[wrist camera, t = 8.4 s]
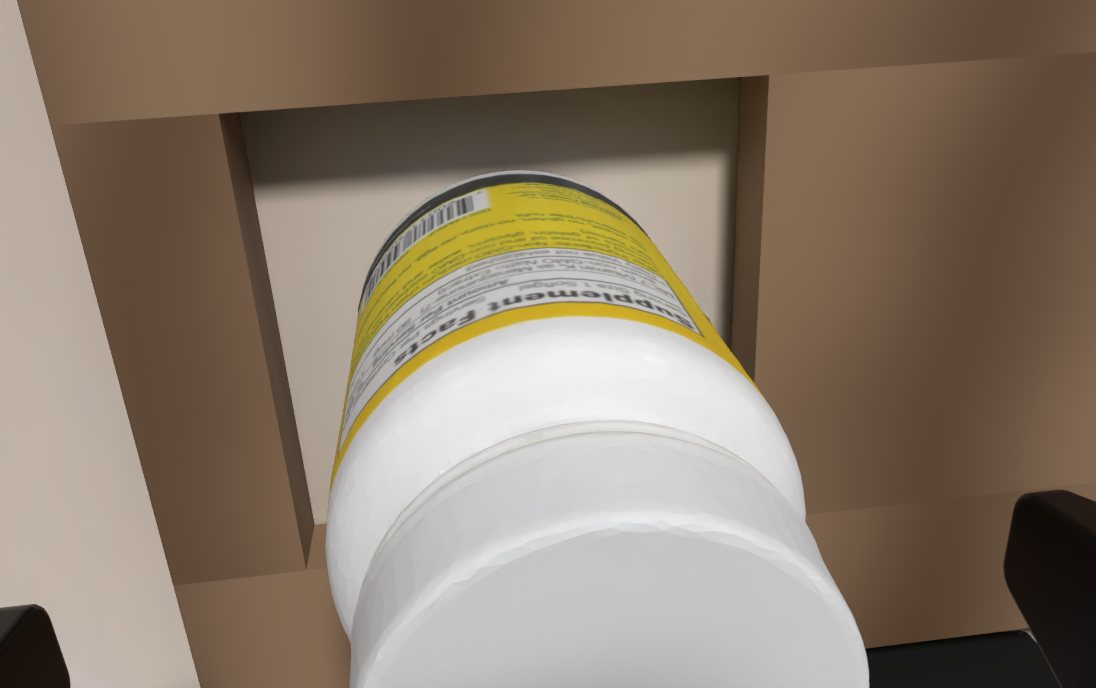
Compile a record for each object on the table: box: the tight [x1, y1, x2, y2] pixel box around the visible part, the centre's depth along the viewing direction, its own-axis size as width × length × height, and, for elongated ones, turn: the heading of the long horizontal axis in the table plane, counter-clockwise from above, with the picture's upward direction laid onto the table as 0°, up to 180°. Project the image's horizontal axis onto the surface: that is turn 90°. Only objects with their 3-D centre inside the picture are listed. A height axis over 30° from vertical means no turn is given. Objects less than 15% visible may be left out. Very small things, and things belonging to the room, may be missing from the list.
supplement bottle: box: [325, 170, 869, 688], centre depth 11 cm, size 5×5×8 cm
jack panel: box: [17, 0, 1096, 688], centre depth 15 cm, size 26×13×1 cm, turn 93°
